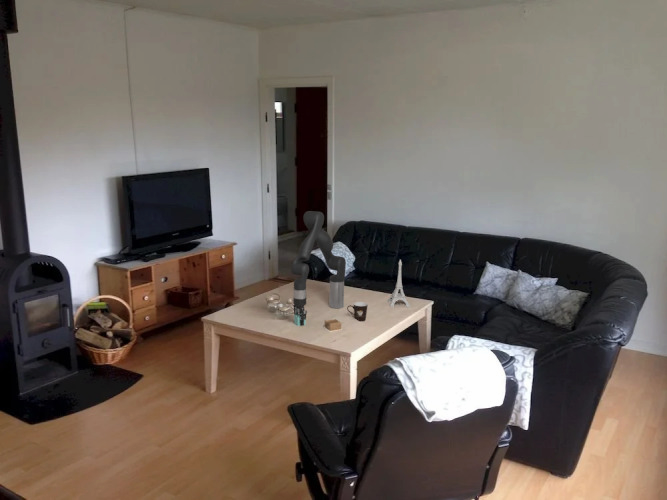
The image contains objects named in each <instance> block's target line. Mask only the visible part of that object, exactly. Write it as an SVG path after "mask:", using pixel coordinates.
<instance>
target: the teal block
mask: <svg viewBox="0 0 667 500" xmlns="http://www.w3.org/2000/svg"><path fill="white" fill-rule="evenodd" d="M300 315H302V314H300ZM304 317H305V316H304ZM293 318H294V319H293V324H294V325H295V326H297V327H301V326H300V316H299V315H298V314H297V315H294V314H293ZM306 320H307V319H306ZM306 320H304V325H303V326H306V324H307V322H306Z"/></svg>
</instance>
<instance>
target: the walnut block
mask: <svg viewBox="0 0 667 500" xmlns="http://www.w3.org/2000/svg"><path fill="white" fill-rule="evenodd" d="M324 327H325V328H326V329H328V330H329V331H332V332H336V331H335V330H338V331H342V330H341V329H342V322H341V321H339V320H338V319H328V320H324ZM325 328H324V329H325ZM328 330H327V331H328ZM329 331H328V332H329Z"/></svg>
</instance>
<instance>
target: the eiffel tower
mask: <svg viewBox="0 0 667 500" xmlns="http://www.w3.org/2000/svg"><path fill="white" fill-rule="evenodd" d="M402 263H403V262H402V259H399V261H398V272H397V278H396V279H397V281H396V284H395V289H394V290H393V292H392V293H391V295H390V297H388V299H387V300H386V302H388V303H390V304H389V305H388V306H389V307H390V308H394V307H395V303H396V302H397V301H399V300H400V301H402V302H403V303H404V304H405V307H407V308H409V307H411V305H410V304H409V301H408V300H407V298H406V297H407V295H405V293H404V290H403V283H402V266H403V264H402Z"/></svg>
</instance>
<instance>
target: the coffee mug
mask: <svg viewBox="0 0 667 500" xmlns="http://www.w3.org/2000/svg"><path fill="white" fill-rule="evenodd" d="M368 305H369V304H368V303H367V302H364V301H356V302H353V305H348V306H347V311H348V312H349V313H350V314H351V315H352V316H354V319H355V320H356V321H357V322H365V321H366V317H367V313H368ZM349 307H351V308H352V309H353V312H352V311H350V310H349Z"/></svg>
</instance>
